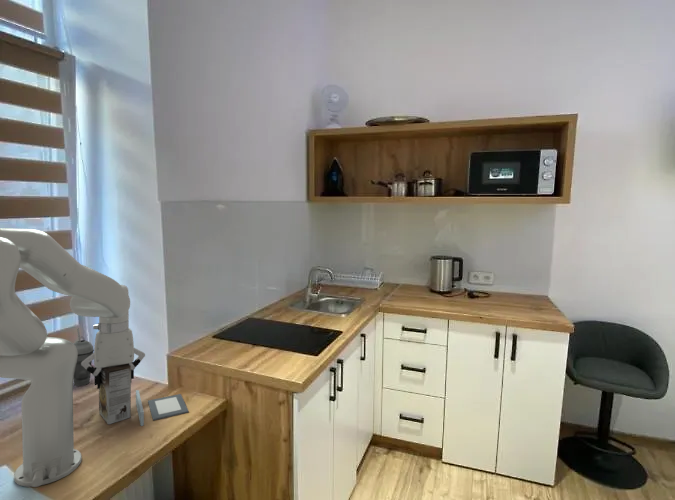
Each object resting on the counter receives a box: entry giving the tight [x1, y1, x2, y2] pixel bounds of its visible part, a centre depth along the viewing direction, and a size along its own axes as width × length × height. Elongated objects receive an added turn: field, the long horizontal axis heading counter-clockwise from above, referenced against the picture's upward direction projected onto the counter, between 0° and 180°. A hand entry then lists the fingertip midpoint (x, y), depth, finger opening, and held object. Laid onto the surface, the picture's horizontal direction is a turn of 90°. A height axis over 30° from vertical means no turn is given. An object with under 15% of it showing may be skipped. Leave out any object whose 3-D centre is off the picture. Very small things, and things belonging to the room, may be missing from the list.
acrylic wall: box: [135, 389, 145, 427], centre depth 114 cm, size 16×1×4 cm, turn 33°
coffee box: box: [98, 364, 132, 425], centre depth 112 cm, size 9×6×16 cm
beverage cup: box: [73, 328, 94, 387], centre depth 132 cm, size 7×7×20 cm
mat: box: [147, 393, 189, 421], centre depth 119 cm, size 13×10×1 cm
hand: (114, 383), depth 112 cm, fingers closed on coffee box, 7 cm apart
